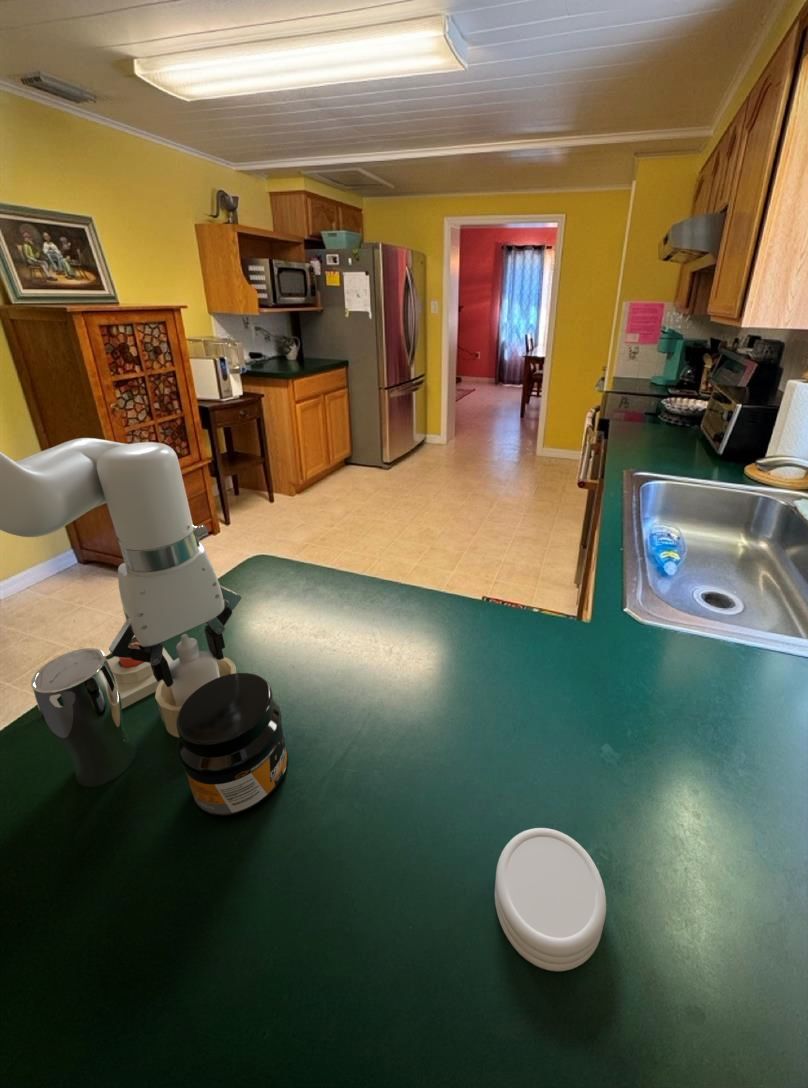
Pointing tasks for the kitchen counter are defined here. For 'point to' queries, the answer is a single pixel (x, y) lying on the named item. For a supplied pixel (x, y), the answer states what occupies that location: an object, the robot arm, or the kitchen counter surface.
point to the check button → (130, 660)
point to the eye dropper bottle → (191, 669)
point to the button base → (135, 679)
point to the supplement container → (232, 745)
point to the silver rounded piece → (85, 714)
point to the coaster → (550, 899)
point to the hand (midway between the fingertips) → (192, 666)
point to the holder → (167, 700)
